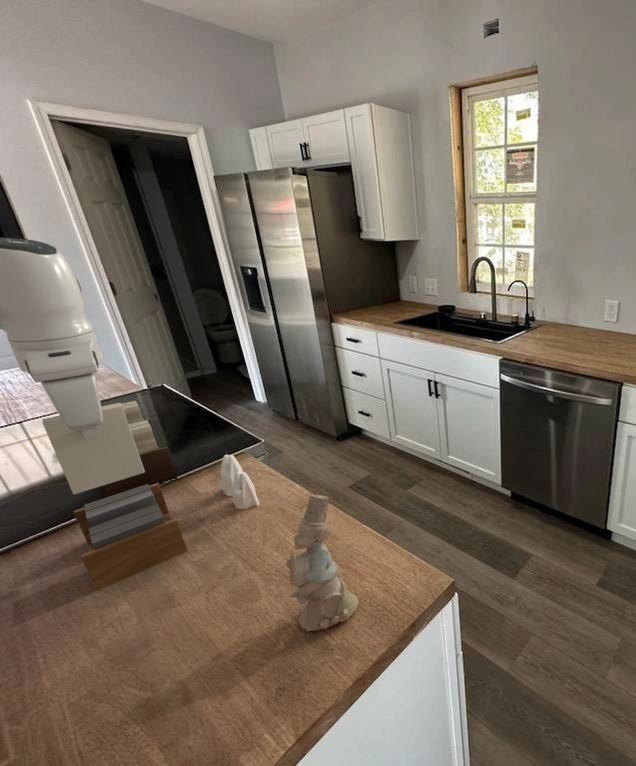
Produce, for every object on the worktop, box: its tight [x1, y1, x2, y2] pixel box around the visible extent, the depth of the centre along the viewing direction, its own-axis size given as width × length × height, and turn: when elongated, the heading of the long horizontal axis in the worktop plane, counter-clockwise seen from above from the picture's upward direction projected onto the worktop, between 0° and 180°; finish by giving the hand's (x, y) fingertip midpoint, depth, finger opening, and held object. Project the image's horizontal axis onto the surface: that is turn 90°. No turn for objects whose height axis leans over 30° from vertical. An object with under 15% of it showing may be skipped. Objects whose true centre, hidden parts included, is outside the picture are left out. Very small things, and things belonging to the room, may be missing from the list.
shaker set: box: [220, 454, 260, 510], centre depth 88 cm, size 12×4×11 cm, turn 49°
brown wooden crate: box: [102, 400, 178, 498], centre depth 97 cm, size 21×12×14 cm, turn 48°
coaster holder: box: [73, 483, 188, 592], centre depth 74 cm, size 16×12×10 cm
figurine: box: [285, 494, 359, 632], centre depth 62 cm, size 9×8×20 cm
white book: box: [41, 402, 145, 495], centre depth 68 cm, size 2×9×13 cm, turn 138°
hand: (91, 433), depth 67 cm, fingers closed on white book, 2 cm apart
